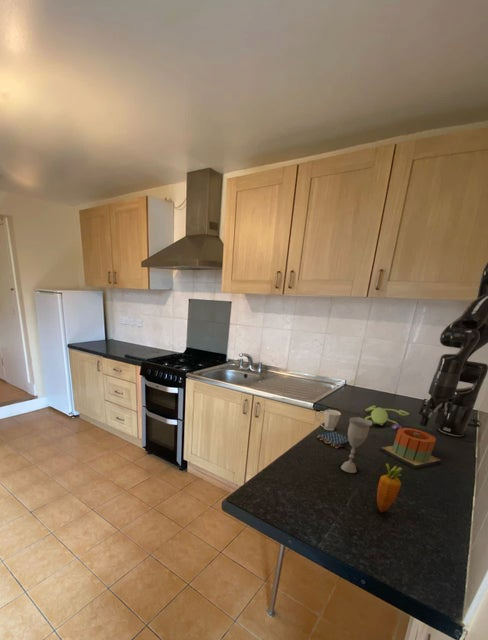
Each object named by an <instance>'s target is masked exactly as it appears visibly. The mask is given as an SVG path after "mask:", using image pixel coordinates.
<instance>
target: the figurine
mask: <svg viewBox="0 0 488 640" xmlns="http://www.w3.org/2000/svg"><path fill="white" fill-rule="evenodd" d="M364 410H365V412H367V413H368V412H370V411H371V413H370V415H367V416H365V418H364V419H366V420H369V421H371V422H372V425H379V426H381V427H382V426H384V424H385V423H386V422H388V423H392V425H391V426H390V428H392V429H393V430H398V429H399V428H402V425H401V424H400V423H398V422H397V421H396V420H392V419H389V414H388V412H393V413H396V414H398V415H399V416H400V417H408V416H409V415H410V413H409V412H407V411H405V410H402V409H399V410H398V409H395V408H394V409H393V408H382V407H377V405H371V406H369V407H367V408H366V409H364ZM357 418H361V416H358V417H357Z"/></svg>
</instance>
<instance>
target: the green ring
mask: <svg viewBox="0 0 488 640" xmlns="http://www.w3.org/2000/svg"><path fill="white" fill-rule="evenodd" d="M393 441H394V442H393V445H392V446H393V448H392V450H393V451H394V452H395V453H396V454H397V455H399V456H401V457H405V458H406V459H410V460H414V461H420V462H422V461H423V462H425V461H429V459H430V456H431V455H432V453H433V450H432V451H429V452H422V451H417V450H416V451H415V450H412V449H408V447H407V448H406V447H403V446H401V445H399V444H398V443H397V442H396V441H395V440H393Z"/></svg>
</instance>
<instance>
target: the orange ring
mask: <svg viewBox="0 0 488 640" xmlns="http://www.w3.org/2000/svg"><path fill="white" fill-rule="evenodd" d="M414 432H417V433H419V434H420V436H419V439H417V438H414V437H412V436H413V433H414ZM394 441H396V442H397V443H398V444H399V445H401V446H403V447H406V448H407V447H408V449H412V450H415V451H416V450H417V451H422V452H429V451H432V452H433V450H434V447H435V444H436V441H437V438H436V437H435V436H434V435H433V434H431V433H428V432H426V431H424V430H420V429H416V428H411V427H401V428H399V429H397V431H396V434H395V438H394Z"/></svg>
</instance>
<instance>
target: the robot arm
mask: <svg viewBox="0 0 488 640" xmlns="http://www.w3.org/2000/svg"><path fill="white" fill-rule="evenodd" d="M439 343H440V344H441V345H442V346H444V347H447V348H454V349H460V350H459V351H458V352H457V353H444V354H442V355H441V356H440V357H439V360H438V364H437V367H436V370H435V372H434V374H433V376H432V380H431V383H430V386H429V389H428V391H427V393H428V394H429V396H430V398H429V399H427V398H423V400H422V402H421V406H420V408H419V411H418V414H419V415H421V420H420V422H419V425H420V426H422V427H428V425H429V422H430V418H431V416H432V415H433V414H435V413H436V412H437V414H436V417H435V420H434V424H435V425H439V426H438V429H437V430H438V432H439V433H441V434H444V435H446V436H450V437H455V438H463V437H464V436H465V433H466V430H467V427H468V426H471V427H472V426H473V427H480V426H479V425H478V424H476V423H478V422H480V420H478V419H477V418H474V419H472V421H473V422H476V423H470V422H469V421H470V419H471V416H472V413H473V410H474V407H475V405H476V402H477V399H478V396H479V393H480V390H481V389H482V386H483V383H484V381H485V380H486V376H487V375H488V364H487V363H484V362H477V361H472V360H471V361H469V358H470V357H471V356H473V354H475V353H476V352H477V351H478V350H480V349H481V348H483V347H484V346H485V345H487V344H488V261H487V262H486V264H485V265H484V267H483V269H482V272H481V275H480V280H479V284H478V290H477V294H476V299H474V300H473V301H471V302H470V303H469V304H468V305H467V306H466V308H465V309H464V310H463V312H462V313H461V315H460V316H459V317H458V318H456V319H455V320H454V321H452V322H451V323H450V324H449V325H447V326H446V327H445V328H444V329H443V330H442V331H441V333H440V336H439ZM459 382H460V383H467V384H471V385H470V386H467V387H458V385H459Z"/></svg>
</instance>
